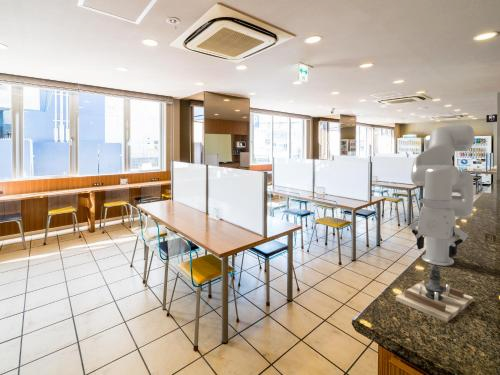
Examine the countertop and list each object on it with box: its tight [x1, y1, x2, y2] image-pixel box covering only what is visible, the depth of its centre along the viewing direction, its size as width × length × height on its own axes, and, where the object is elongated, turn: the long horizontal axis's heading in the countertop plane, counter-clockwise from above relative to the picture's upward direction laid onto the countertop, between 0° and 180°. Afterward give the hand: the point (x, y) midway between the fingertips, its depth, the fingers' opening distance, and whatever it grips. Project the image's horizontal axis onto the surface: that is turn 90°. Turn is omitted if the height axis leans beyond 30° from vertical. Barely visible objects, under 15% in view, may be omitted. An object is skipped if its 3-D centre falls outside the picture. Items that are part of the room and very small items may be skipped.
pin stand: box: [395, 278, 474, 323], centre depth 95 cm, size 20×16×6 cm
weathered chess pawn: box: [425, 264, 445, 301], centre depth 94 cm, size 6×6×12 cm
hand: (435, 252), depth 93 cm, fingers open, 9 cm apart
